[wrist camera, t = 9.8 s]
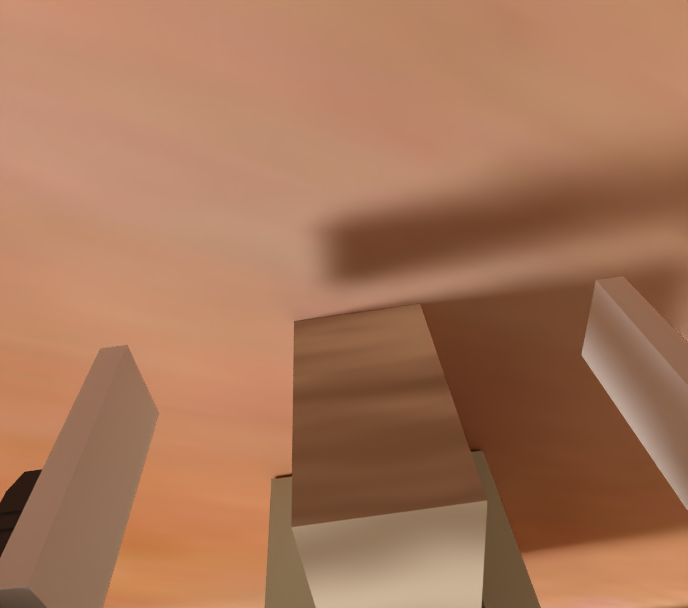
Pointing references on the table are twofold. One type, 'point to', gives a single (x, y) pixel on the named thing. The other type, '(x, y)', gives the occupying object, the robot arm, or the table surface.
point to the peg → (382, 467)
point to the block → (499, 558)
